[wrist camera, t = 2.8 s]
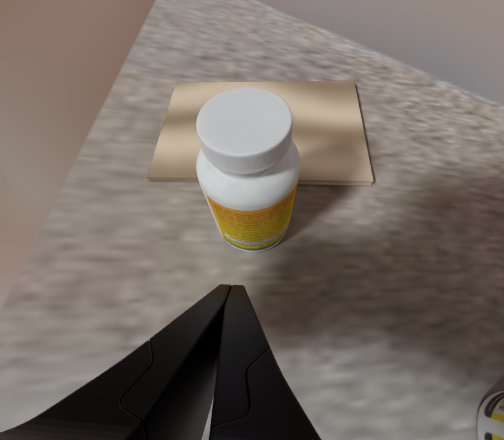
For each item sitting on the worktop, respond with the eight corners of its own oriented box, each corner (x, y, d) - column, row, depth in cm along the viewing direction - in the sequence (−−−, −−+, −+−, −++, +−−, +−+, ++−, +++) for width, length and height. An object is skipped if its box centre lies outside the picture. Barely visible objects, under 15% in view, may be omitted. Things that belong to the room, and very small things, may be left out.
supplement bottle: (207, 208, 19) (161, 101, 11) (267, 181, 20) (268, 61, 12) (237, 268, 17) (208, 191, 8) (303, 234, 18) (337, 133, 9)
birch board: (370, 185, 19) (373, 181, 19) (150, 181, 21) (147, 176, 20) (352, 86, 25) (354, 80, 24) (178, 88, 26) (176, 82, 26)
